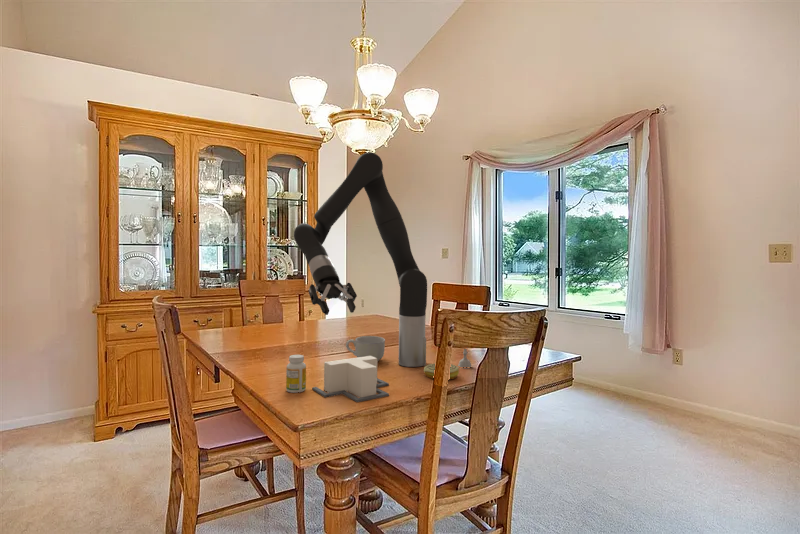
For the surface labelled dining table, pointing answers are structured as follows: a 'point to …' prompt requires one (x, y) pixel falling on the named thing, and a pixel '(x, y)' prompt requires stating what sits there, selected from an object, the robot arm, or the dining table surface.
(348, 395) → the t outline
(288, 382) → the supplement bottle
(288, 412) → the dining table surface
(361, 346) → the teacup
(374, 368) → the t block
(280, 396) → the dining table surface
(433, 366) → the decorated donut
